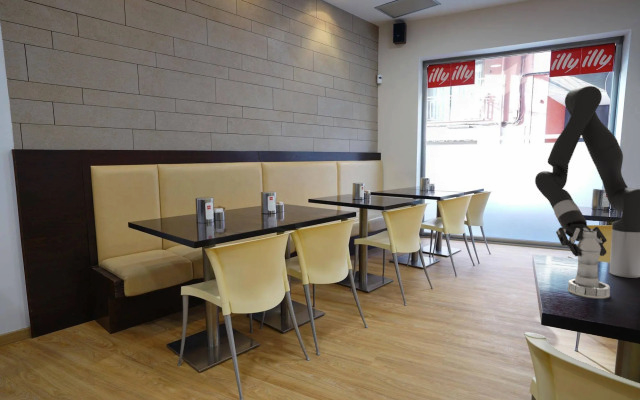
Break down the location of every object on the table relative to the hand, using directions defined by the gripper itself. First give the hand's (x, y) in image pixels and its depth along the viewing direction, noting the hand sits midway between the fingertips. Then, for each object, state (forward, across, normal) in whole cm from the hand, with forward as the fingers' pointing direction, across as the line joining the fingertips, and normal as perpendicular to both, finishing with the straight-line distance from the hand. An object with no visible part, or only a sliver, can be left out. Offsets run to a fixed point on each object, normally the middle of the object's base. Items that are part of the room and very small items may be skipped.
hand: (591, 255), depth 124 cm
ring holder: (+9, 0, +9) cm, 13 cm away
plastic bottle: (+8, 0, +9) cm, 12 cm away
